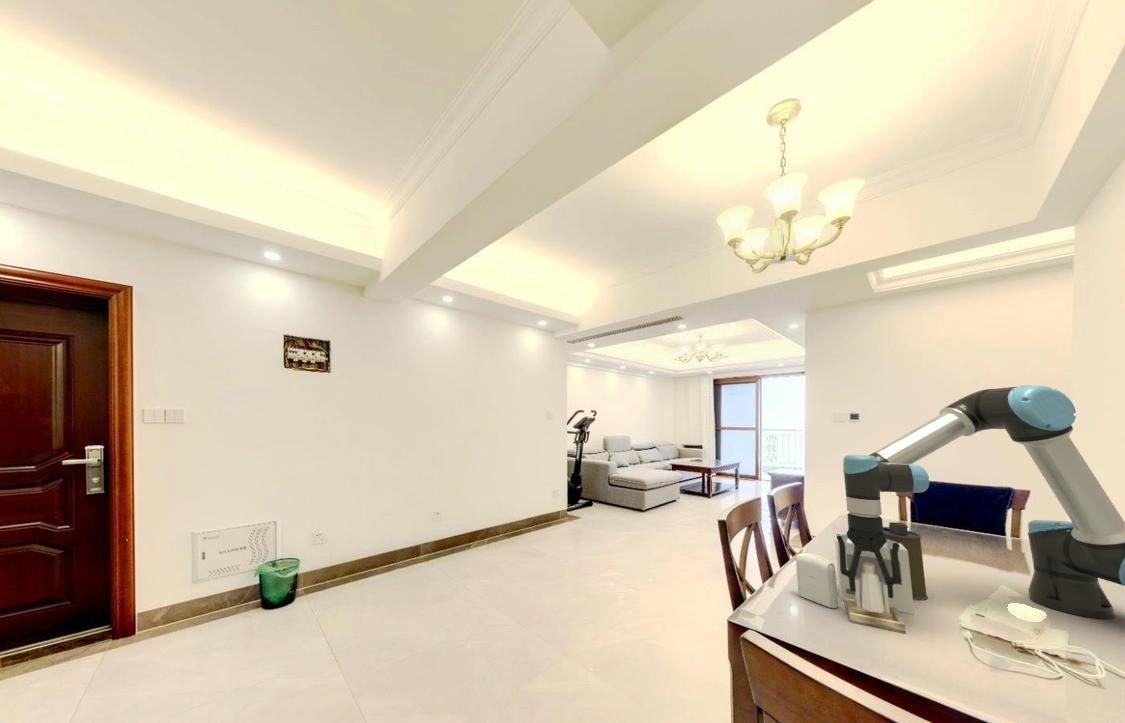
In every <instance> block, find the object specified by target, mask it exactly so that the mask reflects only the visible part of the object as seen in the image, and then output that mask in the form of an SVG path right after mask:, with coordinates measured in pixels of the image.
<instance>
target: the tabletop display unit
mask: <svg viewBox="0 0 1125 723" xmlns="http://www.w3.org/2000/svg"><path fill="white" fill-rule="evenodd" d="M836 535H837V534H835V535H834V544H835V554H836V556H835V558H836V569H837V571H836V572H837V582H838V592H839V596H840V599H841V601H842V602H845V598H847V599H853V600H856V598H855V592H854V591H851V589H850V585H849V577H848V576H846V575H843V574H842V573H841V571H840V554H839V542H838V540H837V537H836ZM844 544H845V551H846V570H848V571H849V568H850V564H851V560H852V556H853V552H854V546H855V545H854V544H853V543H852V542H851V540H850V539H849V538H848V539H847V543H844ZM898 544H899V550H898V561H899V569H900V576H901V584H893V598H888V599H889V606H890V607H895V608H896V610H897V612H898V613H900V612H901V613H905V614H911V615H915V608H914V607H915V606H914V600H913V596H912V587H911V577H910V567H909V558H908V550H907V549H906V548H905V547H904V546H903V545H902V544H901V543H898ZM880 552H881V555H882V558H883V560H884V563H885V565H886V568H887V570H888V573H889V575H890V577H893V573H892V565H891V557H890V549H889V548H888V547H887V543H885V544H884V545H883V546H882V548H881V549H880ZM863 562H869V563H872V564H874V565H875V574H877V575H878V577H879V582H880V587H881V591H882V581H883V582H885V579H884V576H883V574H882V571H881V569H880V566H879V564H878V561H877V558H876V556H875V554H874V553H873V552H870V551H862V552H861V555H860V559H859V563H858V567H857V571H856V575H855V577H857V578H858V580H859V592H860V575H861V572H863V565H862V563H863ZM882 596H883V592H882Z"/></svg>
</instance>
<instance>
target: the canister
mask: <svg viewBox="0 0 1125 723" xmlns="http://www.w3.org/2000/svg"><path fill="white" fill-rule="evenodd" d="M908 528H909V526H908V525H907V524H904V523H902V522H897V521H895V522H893V521H891V522H888V526H883V533H884V536H885V537H886V539H888V540H891V541H896V542H897V543H901V544H902V545H903V546H904V547H905V548H906V549H907V550H908V558H909V567H910V577H911V587H912V596H913V601H926V600H928V598H929V596H928V595H927V589H926V588H927V587H926V578H925V569H924V567H925V566H924V560H923V548H922V541H921V538H922V535H921V534H920V533H917V532H914V531H911V530H910V531H909V530H908Z"/></svg>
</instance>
